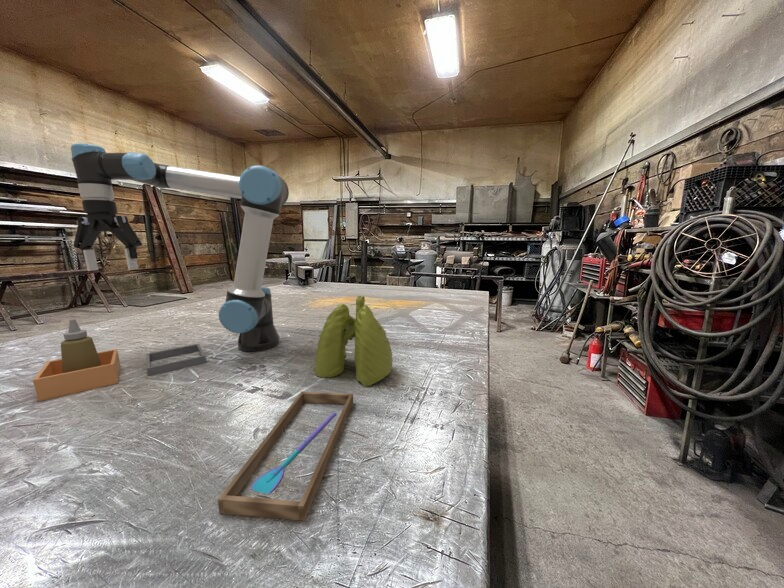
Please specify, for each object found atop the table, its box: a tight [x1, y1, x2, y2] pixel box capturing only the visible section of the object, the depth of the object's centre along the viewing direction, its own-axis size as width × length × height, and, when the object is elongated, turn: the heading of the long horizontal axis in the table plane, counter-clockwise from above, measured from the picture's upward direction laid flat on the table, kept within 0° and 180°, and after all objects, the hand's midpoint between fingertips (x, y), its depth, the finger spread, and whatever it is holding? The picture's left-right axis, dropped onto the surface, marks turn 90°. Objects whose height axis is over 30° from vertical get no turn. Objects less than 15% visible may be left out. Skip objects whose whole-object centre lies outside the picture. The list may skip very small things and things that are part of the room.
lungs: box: [313, 295, 394, 387], centre depth 93 cm, size 25×16×24 cm, turn 67°
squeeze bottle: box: [60, 319, 101, 373], centre depth 88 cm, size 8×8×18 cm
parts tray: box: [145, 343, 207, 377], centre depth 104 cm, size 16×16×2 cm
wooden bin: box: [32, 348, 121, 402], centre depth 89 cm, size 16×16×6 cm
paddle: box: [250, 411, 337, 495], centre depth 61 cm, size 25×4×1 cm, turn 162°
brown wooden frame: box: [217, 391, 354, 521], centre depth 62 cm, size 14×33×2 cm, turn 174°
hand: (113, 270), depth 96 cm, fingers open, 13 cm apart
